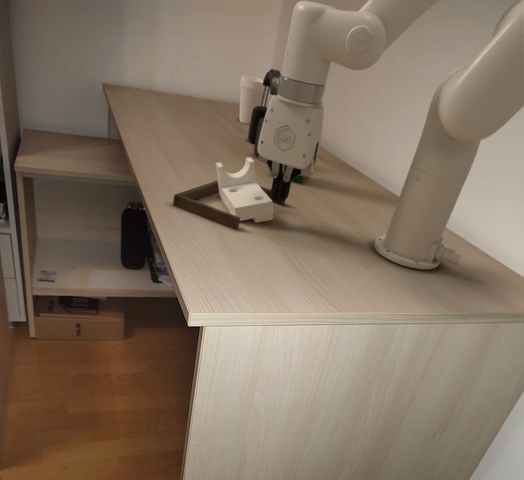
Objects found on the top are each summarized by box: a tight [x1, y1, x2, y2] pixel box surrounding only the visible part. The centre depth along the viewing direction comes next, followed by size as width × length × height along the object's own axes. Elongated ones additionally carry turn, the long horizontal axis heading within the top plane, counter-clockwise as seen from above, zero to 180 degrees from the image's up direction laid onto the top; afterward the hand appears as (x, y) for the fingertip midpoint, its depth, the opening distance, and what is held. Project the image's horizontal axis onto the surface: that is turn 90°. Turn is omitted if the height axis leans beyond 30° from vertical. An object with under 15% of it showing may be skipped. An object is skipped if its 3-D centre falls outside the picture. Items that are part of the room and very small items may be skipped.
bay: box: [172, 179, 287, 230], centre depth 96 cm, size 14×21×2 cm, turn 153°
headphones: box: [247, 68, 281, 157], centre depth 132 cm, size 22×6×20 cm, turn 8°
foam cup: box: [238, 75, 269, 125], centre depth 162 cm, size 10×9×13 cm
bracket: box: [215, 156, 274, 223], centre depth 93 cm, size 13×7×8 cm, turn 18°
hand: (278, 199), depth 92 cm, fingers closed
